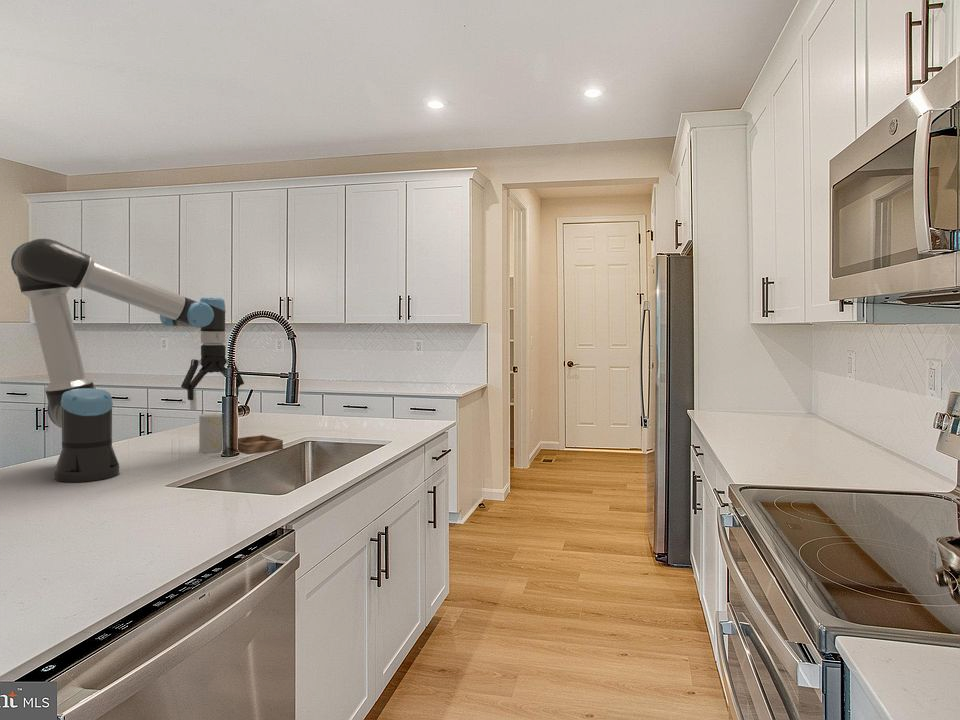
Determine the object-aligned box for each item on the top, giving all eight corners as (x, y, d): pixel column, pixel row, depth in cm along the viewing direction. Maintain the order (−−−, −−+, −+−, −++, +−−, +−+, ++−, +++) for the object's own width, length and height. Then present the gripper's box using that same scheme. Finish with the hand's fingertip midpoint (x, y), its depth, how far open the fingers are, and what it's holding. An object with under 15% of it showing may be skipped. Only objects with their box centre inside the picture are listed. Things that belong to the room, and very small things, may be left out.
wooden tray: (247, 454, 203) (247, 444, 203) (227, 448, 211) (227, 439, 211) (282, 448, 213) (282, 440, 213) (262, 443, 221) (262, 435, 221)
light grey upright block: (207, 454, 201) (207, 417, 201) (194, 450, 206) (194, 414, 205) (230, 450, 208) (230, 415, 207) (217, 447, 213) (217, 412, 212)
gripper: (179, 345, 193) (180, 413, 194) (254, 344, 212) (254, 405, 213) (169, 344, 198) (170, 410, 199) (242, 343, 217) (243, 403, 218)
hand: (213, 408), depth 206 cm, fingers open, 13 cm apart
